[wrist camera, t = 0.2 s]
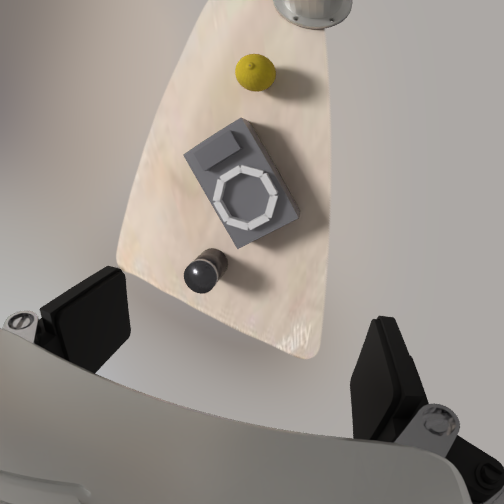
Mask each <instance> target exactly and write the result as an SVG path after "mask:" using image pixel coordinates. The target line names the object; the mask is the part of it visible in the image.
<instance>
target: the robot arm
mask: <svg viewBox="0 0 504 504" xmlns="http://www.w3.org/2000/svg"><path fill="white" fill-rule="evenodd" d="M273 2H274V6H275V8H276V10H277V11H278V13H279V14H280V15H281V16H282V17H283V18H285V19H286V20H287V21H289V22H291V23H292V24H295V25H297V26H300V27H304V28H311V29H323V28H329V27H332V26H335V25H337V24H339V23H341V22H342V21H343V20H344V19H345V18H347V16H348V14H349V13H350V11H351V7H352V0H273ZM295 20H298V21H295ZM331 21H333V22H331ZM40 312H41V316H42V318H41V319H40V320H39V319H38V316H37V314H35V313H34V312H31V311H20V312H17V313H14V314H12V315H10V316H9V317H8V318H7V319H6V321H5V323H4V326H3V328H2V329H1V328H0V504H504V467H503V466H502V464H501V463H500V462H499V461H497V460H496V459H495V458H493V457H491V456H489V455H488V454H487V453H485V452H483V451H482V450H480V449H478V448H477V447H475V446H474V445H472V444H471V443H469V442H467V441H466V440H464V439H463V438H461V437H460V436H458V435H457V434H458V432H459V429H460V423H459V419H458V417H457V416H456V414H455V413H454V412H453V411H452V410H451V409H449V408H448V407H446V406H443V405H440V404H429V403H428V400H427V397H426V394H425V392H424V388H423V386H422V383H421V380H420V377H419V374H418V372H417V369H416V367H415V364H414V361H413V358H412V357H411V356H410V355H409V353H408V350H407V347H406V345H405V342H404V340H403V337H402V335H401V332H400V330H399V328H398V325H397V323H396V320H395V319H394V318H393V317H385V316H378V318H377V319H373V320H372V321H371V324H370V327H369V330H368V333H367V336H366V339H365V342H364V344H363V348H362V350H361V353H360V356H359V358H358V361H357V364H356V366H355V369H354V372H353V374H352V377H351V381H350V391H351V404H352V418H353V438H354V439H352V438H342V437H334V436H324V435H315V434H308V433H301V432H294V431H288V430H282V429H276V428H270V427H265V426H260V425H255V424H250V423H245V422H241V421H236V420H232V419H228V418H224V417H220V416H216V415H212V414H208V413H204V412H201V411H197V410H194V409H190V408H187V407H183V406H180V405H177V404H174V403H171V402H168V401H165V400H161V399H159V398H156V397H153V396H150V395H147V394H145V393H142V392H139V391H136V390H134V389H131V388H128V387H126V386H123V385H121V384H118V383H116V382H113V381H111V380H109V379H106V378H104V377H101V376H99V375H97V374H95V373H96V372H97V371H98V370H99V369H100V368H101V366H102V365H103V364H104V363H105V362H106V361H107V360H108V359H109V358H110V357H111V356H112V355H113V354H114V353H115V352H116V351H117V349H119V348H120V346H121V345H122V344H123V343H124V342H125V341H126V340H127V339H128V338H129V336H130V333H131V328H130V319H129V311H128V301H127V291H126V279H125V274H124V273H123V272H122V270H121V269H119V268H115V267H111V266H106V267H105V268H103V269H102V270H100V271H98V272H97V273H95V274H93V275H92V276H90V277H88V278H87V279H85V280H83V281H82V282H80V283H79V284H77V285H76V286H74V287H72V288H71V289H69V290H68V291H66V292H64V293H63V294H61V295H60V296H58V297H57V298H55V299H54V300H52V301H50V302H49V303H47V304H46V305H45V306H43V307H41V308H40Z"/></svg>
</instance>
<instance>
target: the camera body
mask: <svg viewBox="0 0 504 504" xmlns="http://www.w3.org/2000/svg"><path fill="white" fill-rule="evenodd" d="M184 157H185V159H186V161H187V162H188V164H189V166H190V168H191V169H192V171H193V173H194V175H195V176H196V178H197V180H198V182H199V183H200V185H201V187H202V189H203V190H204V192H205V194H206V196H207V197H208V199H209V201H210V202H211V204H212V206H213V208H214V209H215V211H216V213H217V215H218V216H219V218H220V220H221V221H222V223H223V225H224V227H225V228H226V230H227V232H228V234H229V235H230V237H231V239H232V240H233V242H234V244H235V246H236V247H237V249H239V248H241V247H243V246H245V245H247V244H249V243H251V242H253V241H255V240H257V239H259V238H260V237H262V236H264V235H266V234H268V233H270V232H272V231H274V230H276V229H278V228H280V227H282V226H284V225H286V224H288V223H290V222H292V221H294V220H296V219H298V218H299V215H300V210H299V208H298V207H297V205H296V203H295V201H294V199H293V197H292V195H291V194H290V192H289V190H288V188H287V186H286V185H285V183H284V181H283V179H282V177H281V176H280V174H279V172H278V170H277V168H276V167H275V165H274V163H273V161H272V160H271V158H270V156H269V155H268V153H267V151H266V149H265V148H264V146H263V144H262V142H261V141H260V139H259V137H258V136H257V134H256V132H255V131H254V129H253V127H252V126H251V124H250V122H249V121H247V120H245V119H243V118H240V119H238V120H236V121H235V122H233V123H231V124H230V125H228V126H226V127H225V128H223V129H222V130H220V131H218V132H217V133H215V134H214V135H212V136H211V137H209V138H208V139H206V140H204V141H203V142H201V143H200V144H198V145H197V146H195V147H194V148H192V149H191V150H189V151H188V152H187V153H185V154H184Z"/></svg>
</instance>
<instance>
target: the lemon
mask: <svg viewBox="0 0 504 504" xmlns="http://www.w3.org/2000/svg"><path fill="white" fill-rule="evenodd" d="M235 74H236V78H237V80H238V82H239V83H240V85H242V86H243V87H244V88H246V89H247V90H250V91H263V90H265V89H267V88H269V87H270V86H271V85H272V84H273V82H274V80H275V76H276V71H275V67H274V65H273V63H272V62H271V61H270V60H269V59H268V58H266V57H265V56H262V55H259V54H249V55H247V56H244V57H243V58H241V59H240V61H239V62H238V63H237V65H236V69H235Z"/></svg>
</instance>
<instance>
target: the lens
mask: <svg viewBox="0 0 504 504" xmlns="http://www.w3.org/2000/svg"><path fill="white" fill-rule="evenodd" d="M227 266H228V262H227V258H226V256H225V255H224V254H223V253H222V252H221V251H220V250H217V249H213V248H211V249H207V250H205V251H204V252H203V253H202V254H201V255H199V256H198V257H197V258H196V259H195V260H194V261H193V262H192V263H191V264H190V265H189V266H188V267H187V268H186V269H185V272H184V280H185V283H186V284H187V286H188V287H189V288H190V289H191V290H192V291H194V292H196V293H207V292H209V291H210V290H212V288H213V287H214V286H215V284H216V283H217V282H218V280H219V279H220V278H221V276H222V275H223V274H224V272H225V271H226V269H227Z"/></svg>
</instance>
